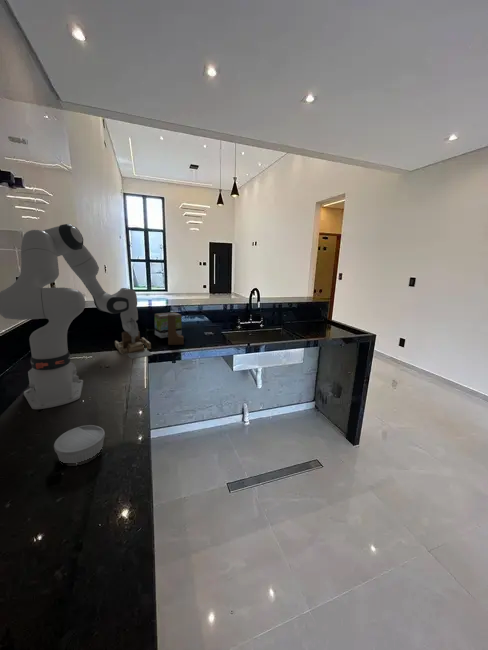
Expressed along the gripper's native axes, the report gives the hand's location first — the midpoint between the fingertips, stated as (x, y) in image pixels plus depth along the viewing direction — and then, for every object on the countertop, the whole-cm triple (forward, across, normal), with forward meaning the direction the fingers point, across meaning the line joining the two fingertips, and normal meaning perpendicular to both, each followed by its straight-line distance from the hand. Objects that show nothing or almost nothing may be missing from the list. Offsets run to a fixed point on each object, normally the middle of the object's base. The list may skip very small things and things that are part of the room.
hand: (130, 340), depth 154 cm
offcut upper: (+1, -9, 0) cm, 9 cm away
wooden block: (+4, -8, -24) cm, 26 cm away
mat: (+4, -17, 0) cm, 17 cm away
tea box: (+4, +12, -27) cm, 30 cm away
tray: (+4, -3, 0) cm, 5 cm away
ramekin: (+4, -84, +34) cm, 90 cm away
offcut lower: (+3, -9, 0) cm, 10 cm away
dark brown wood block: (+3, 0, 0) cm, 3 cm away
